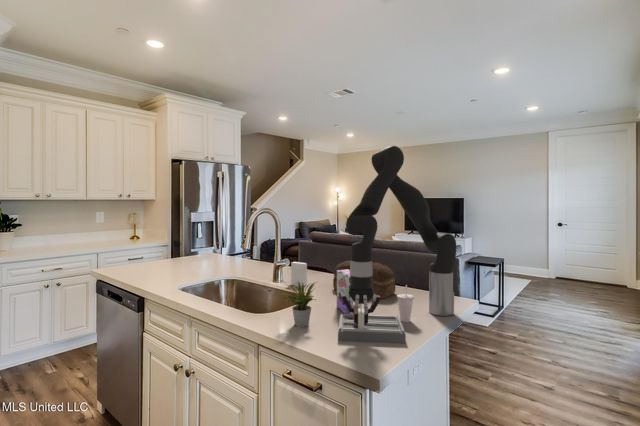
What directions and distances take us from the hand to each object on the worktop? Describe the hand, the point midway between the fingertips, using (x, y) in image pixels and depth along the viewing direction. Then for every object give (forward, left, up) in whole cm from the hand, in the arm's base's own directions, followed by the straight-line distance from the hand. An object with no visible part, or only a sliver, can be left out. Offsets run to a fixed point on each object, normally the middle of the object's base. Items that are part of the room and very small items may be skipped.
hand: (360, 323), depth 119 cm
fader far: (+2, -8, -1) cm, 8 cm away
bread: (-2, -60, -5) cm, 60 cm away
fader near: (0, 0, -1) cm, 1 cm away
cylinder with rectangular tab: (+33, -71, -5) cm, 78 cm away
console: (-3, -4, -4) cm, 7 cm away
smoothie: (-17, -18, -5) cm, 25 cm away
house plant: (+22, -11, -5) cm, 25 cm away
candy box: (+5, -27, -5) cm, 28 cm away
